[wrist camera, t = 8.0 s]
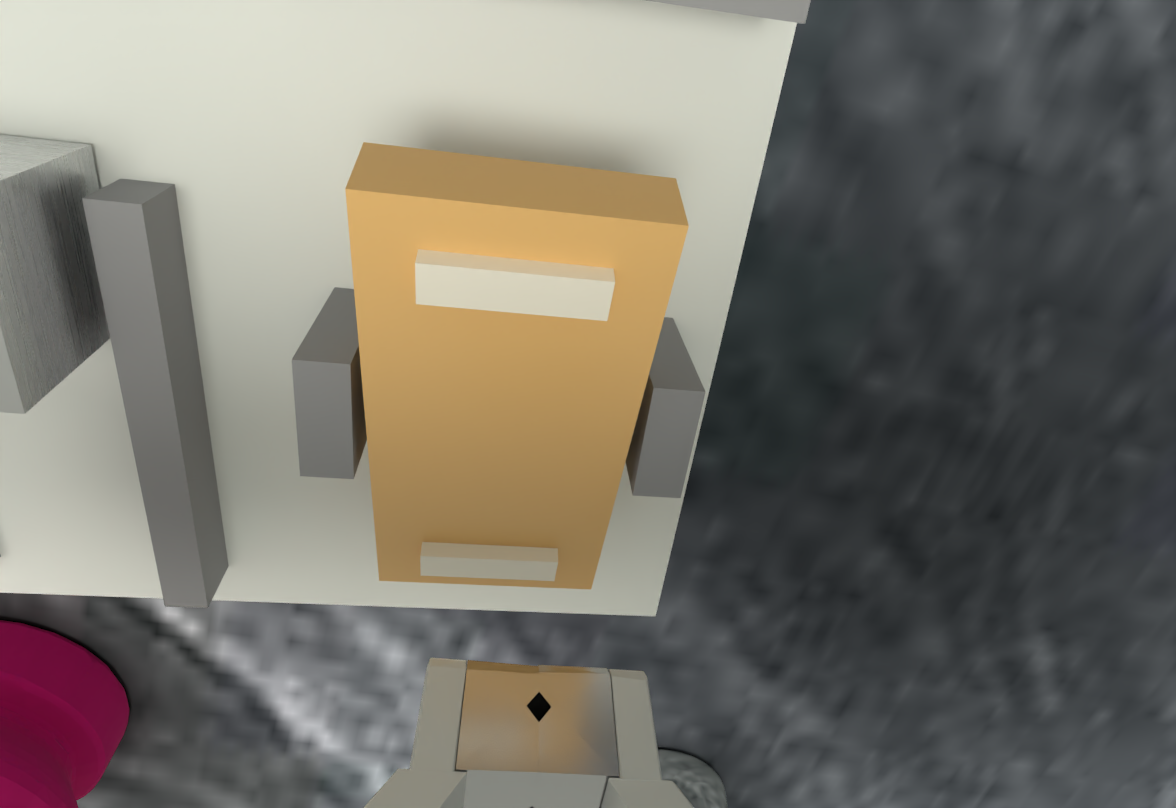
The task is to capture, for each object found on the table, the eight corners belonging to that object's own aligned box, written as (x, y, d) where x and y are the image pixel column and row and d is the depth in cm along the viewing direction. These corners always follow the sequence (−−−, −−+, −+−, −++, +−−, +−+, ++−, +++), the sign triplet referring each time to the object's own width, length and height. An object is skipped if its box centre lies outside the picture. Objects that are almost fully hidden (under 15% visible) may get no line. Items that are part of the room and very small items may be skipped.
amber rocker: (676, 178, 10) (692, 239, 9) (588, 538, 15) (592, 603, 14) (363, 142, 9) (340, 201, 8) (388, 528, 15) (376, 595, 14)
